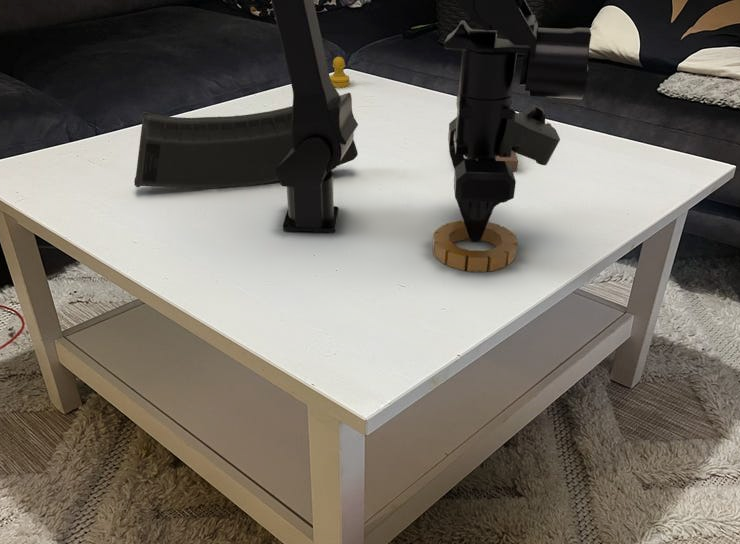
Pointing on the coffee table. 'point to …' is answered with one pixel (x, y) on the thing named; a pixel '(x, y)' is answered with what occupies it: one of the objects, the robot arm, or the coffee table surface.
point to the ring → (473, 258)
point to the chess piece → (339, 73)
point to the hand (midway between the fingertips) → (472, 224)
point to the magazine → (216, 150)
